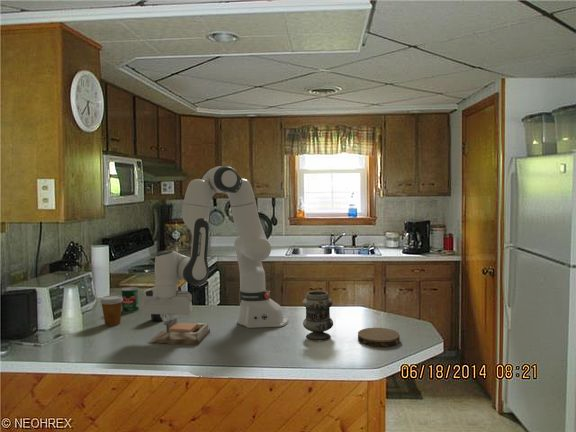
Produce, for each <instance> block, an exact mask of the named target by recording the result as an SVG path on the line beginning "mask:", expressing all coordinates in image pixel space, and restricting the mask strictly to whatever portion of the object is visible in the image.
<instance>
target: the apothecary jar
mask: <svg viewBox="0 0 576 432" xmlns="http://www.w3.org/2000/svg"><path fill="white" fill-rule="evenodd" d="M302 305H303V306H304V307H305V318H304V319H303V321H302V325H303V328H304V329H305V330H307V331H309V333H307V334H306V336H305V339H307V340H308V341H312V342H324V341H328V340H330V339H331V337H332V336H331V335H330V333H327V331H329V330H330V329H332V328H333V326H334V321H333V319H332V318H331V315H330V313H331V312H330V310H331V309H330V308H331V307H332V306H333V299H332V298H330V296H329V293H328V291H325V290H311V291H308V292H306V297H305V298H304V299H303V300H302Z"/></svg>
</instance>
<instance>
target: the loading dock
mask: <svg viewBox="0 0 576 432" xmlns="http://www.w3.org/2000/svg"><path fill="white" fill-rule="evenodd" d="M195 324H198V328H196V332H195V333H190V332H170V336H169V332H167V330H161V331H159V333H158V334H156V335H155V336H153V337H152V338H151V339H149V340H148V342H146V344H165V343H166V344H168V345H169V344H171V345H197V346H199V345H200V344H201V343H202V342H203V341H204V340H205V339H206V338H207V337H208V335H209V334H210V333H211V329H210V328H209V323H201V322H200V323H195Z"/></svg>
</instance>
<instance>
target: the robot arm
mask: <svg viewBox="0 0 576 432" xmlns="http://www.w3.org/2000/svg"><path fill="white" fill-rule="evenodd" d="M222 193H225V194H226V195H227V197H228V199H229V205H230V209H231V214H232V218H233V224H234V225H235V228H236V230H237V232H238V236H236V238H235V240H234V243H233V246H234V250H235V253H236V254H235V255H236V258H237V264H238V270H239V284H240V285H239V287H240V288H239V292H238V294H239V295H238V299H239V300H238V301H239V312H238V318H237V324H239V325H241V326H244V327H245V328H247V329H250V328H277V327H278V328H279V327H284V326H286V325H287V324H288V322H289V318H288V316H286V315H284V312H283V309H282V306H281V305H280V304H279V303H277V302H276V301H274V300H273V299H271V290H267V289H266V272H265V269H264V267H263V261H264V260H266V259H268V258H269V257H270V255H271V251H272V245H271V243H270V242H269V240H268V239H267V236H266V233H265V231H264V228H263V225H262V223H261V220H260V217H259V212H258V210H259V209H258V206H257V201H256V197H255V194H254V189H253V187H252V185H251V183H250V181H249V179H245V178H243V177H240V175H239V173H238V172H237V170H236V169H235V168H233V167H231V166H227V165H223V166H222V165H220V166H218V165H217V166H215V167H212V168H209V169H207V170H206V171H205V172H204V173H203V175H202V176H201V177H200V178H195V179H192V180H191V181H190V182H189V183H188V185H187V188H186V191H185V195H184V198H183V203H182V211H181V212H182V213H181V216H182V221H183V222H184V224H185V225H186V226H187V228H188V229H189V231H190V234H191V251H190V256H189V255H188V256H186V255H184V254H181V253H179V252H177V251H175V250H174V249H165V250H162V251H159V252H158V253H157V254H156V256H155V258H154V276H155V281H154V286H153V287H150V288H148V289H145V290H144V291H143V292H142V293H143V297H142V300H141V312H142V314H144V315H146V314H148V315H151V314H160V317H161V318H162V320H163V326H166V324H167V323H168V322H169V321H171V320H172V319H174V318H175V315H180V316H181V315H183V316H189V315H191V313H192V312H193V303H192V300H193V295H192V293H190V292H189V291H188V290H185V291H182V290H179V288H178V287H179V286H178V285H179V284H178V283H179V280H182V281H185V282H187V283H188V284H190V285H191V286H199V285H202V284H204V282H206V281H207V279H208V277H209V275H210V268H209V263H208V250H209V247H208V246H209V235H210V233H209V232H210V229H209V228H210V227H209V226H210V225H209V222H210V218H209V217H210V213H211V206H212V205H211V204H212V199H213V197H214V196H215V194H222ZM165 315H166V316H167V315H168V317H169V319H167V317H166V318H165Z"/></svg>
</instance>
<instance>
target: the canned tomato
mask: <svg viewBox="0 0 576 432" xmlns="http://www.w3.org/2000/svg"><path fill="white" fill-rule="evenodd" d="M120 292H121V296H122V298H123V301H122V309H121V313H123V314H124V313H125V314H126V313H127V314H130V313H135V312H139V310H140V305H139V287H138V286H125V287H122V288H121V291H120Z"/></svg>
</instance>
